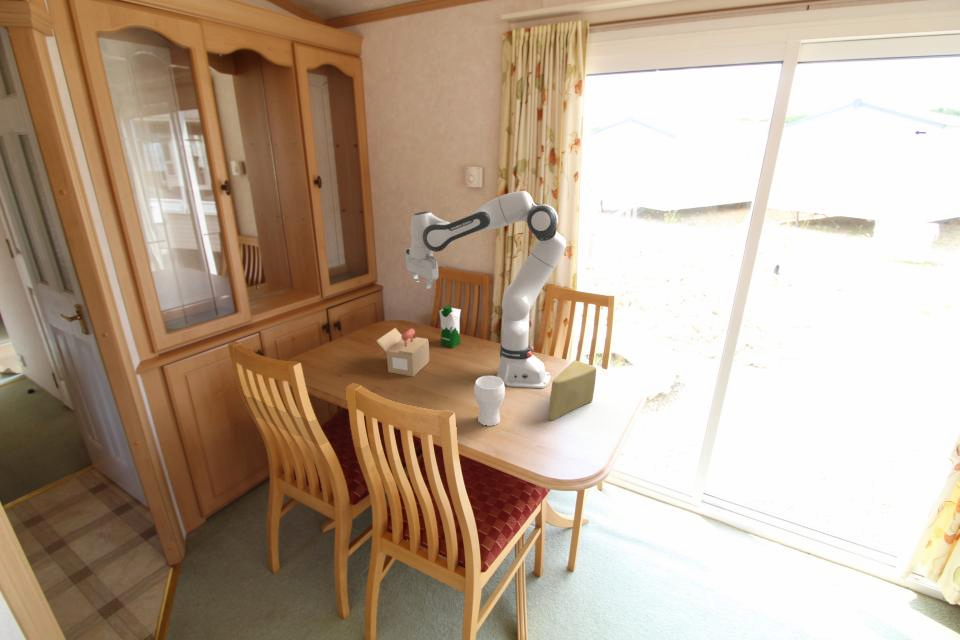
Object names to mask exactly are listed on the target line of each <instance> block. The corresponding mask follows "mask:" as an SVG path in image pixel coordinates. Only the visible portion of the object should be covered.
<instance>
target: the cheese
mask: <svg viewBox="0 0 960 640" xmlns="http://www.w3.org/2000/svg"><path fill="white" fill-rule="evenodd" d="M596 379H597V367H595V366H594V365H590V364H588V363H585V362H582V361H580V360H573V361H572V362H571V363H570V364H569V365H568V366H567V367H565V368H564V369H563V370H562V372H560V373H559V374H558V375H557V376H555V378H554V379H553V380H552V382H551V390H550V396H549V397H550V398H549V404H548V405H549V406H548V419H549V420H550V421H554V420H557V419H559V418H560V416H561V417H562V416H564V415H566V414H568V413H570V412H572V411H574V410H575V409H578V408H580V407H581V406H582V407H583V406H585V405H587V404H589V403H592V402H593V399H594V393H595V385H596ZM556 418H557V419H556Z"/></svg>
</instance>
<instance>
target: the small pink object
mask: <svg viewBox="0 0 960 640" xmlns="http://www.w3.org/2000/svg"><path fill="white" fill-rule="evenodd" d="M401 335H402V336H401V338H402V339H403V340H404V341H405V346H404V347H403V348H402V349H401V350H399V352H400V353H407V354H413V353H414V352H415V351H417V350H418V349H419V348H420V347H421V346H422V345H424V344H425V343H426V342H427V341H429V339H428V338H424V337H418V336H415V338H414V335H416V330H415V329H414V328H409V329H408V330H407V331H405V332H404V333H403V334H401ZM409 338H411V342H409V343H408V344H407V340H408V339H409ZM402 339H401V340H402Z"/></svg>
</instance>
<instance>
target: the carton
mask: <svg viewBox="0 0 960 640" xmlns="http://www.w3.org/2000/svg"><path fill="white" fill-rule="evenodd" d="M409 342H411V337H410V338H409V339H408V340H407V344H408V343H409ZM429 343H430V342H429V340H428V341H427V342H426V343H425V344H424V345H422V346H421V347H420V348H419V349H418V350H417V351H415V352H414V353H413V354H407V353H400V352H399V350H401V349H402V348H403V347H404V346H405V341H404V340H403V339H401V340H400V341H399V342H398V343H396V344H395V345H394V346H392V347H391V348H390V349H388V350H387V351H386V361H387V362H386V363H387V372H388V373H391V374H396V375H402V376H408V377H414V376H416V375H417V374H418V372H420V371H421V369H423V368H424V367H425V366H426V365H427V364H428V363H429V362H430V344H429Z"/></svg>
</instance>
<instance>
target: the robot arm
mask: <svg viewBox="0 0 960 640" xmlns="http://www.w3.org/2000/svg"><path fill="white" fill-rule="evenodd" d="M518 222H525V223H527V224H526V225H527V227H528V229H529V231H530V232H531V233H532V234H533V236H535V238H536V239H537V241H536V244H535V246H534V247H533V248H532V250H531V252H530V253H529V255H528V257H527V258H526V259H525V261H524V263H523V264H522V265H521V267H520V269H519V271H518V272H517V274H516V277H515V278H514V281H513V282H512V283H510V284H509V285H508V286H507V287H506V288H505V289H504V291H503V294H502V302H501V308H502V318H501V320H502V321H501V342H500V343H501V344H500V347H499V357H500V360H499V366H498V369H497V373H496V377H499V378H501V379H502V380H503V382H504V386H505V387H516V388H531V389H545V388H546V387H547V386H548V385H549V384H550V383H551V379H552V378H551V373H550V372H548V371H546V367H545V364H544V362H543V361H542V360H541V359H539V358H538V357H537V356H536V355H534V354H533V353H534V346H531V345H529V336H530V335H529V334H530V312H531V309H532V307H533V306H534V304H535V302H536V300H537V298H538V296H539V295H540V293H541V291H542V289H543V287H544V286H545V284H546V283H547V281H548V280H549V278H550V277H551V275H552V274H553V272H554V271H555V269H556V267H557V266H558V264H559V263H560V261H561V259H562V257H563V255H564V253H565V251H566V248H567V241H566V239H565V238H564V236H563V235H562V234H561V233H559V232H558V231H557V227H558V223H559V216H558V213H557V210H556V209H555V208H554V207H552V206H550V205H549V204H541V203H535V202H534V200H533V198H532V195H530V193H529V192H528V191H526V190H516V191H513V192H509V193H505V194H502V195H499V196H497V197H494V198H493V199H491V200H489V201H487V202H486V203H484V204H483V205H481V206H480V207H479V208H477V209H476V210H475V211H474V212H472V213H471V214H469V215H467V216H465V217H463V218H459V219H457V220H455V221H453V222H450V221H446V220H444V219H441V218H439V217H437V216H436V215H434V214H433V213H432V212H431V211H420V212H416V213H414V214H413V215H412V216H411V220H410V238H411V241H410V247H408V248H405V249H404V252H405V253H404V254H405V264H406V265H405V266H406V269H407V271H408V272H410V273H411V275H412V279H413V283H415V284H419V283H420V279H419V276H420V277H423V278H425V279H426V283H425V286H424V287H425V289H428V290H429V289H432V283H433V281H436V280H438V279H439V275H440V274H439V264H438V262H437V260H436V257H435V256H434V252H436V253H438V252H441V251H443V250H444V249H445V248H447V247H448V246H450V245H451V244H452V243H453V242H454V241H455V240H458V239H460V238H461V239H462V238H463V237H465V236H468V235H471V234H474V233H477V232H482V231H488V230H494V229H495V230H496V229H500V228H504V227H506V226H509V225H513V224H514V223H518Z"/></svg>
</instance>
